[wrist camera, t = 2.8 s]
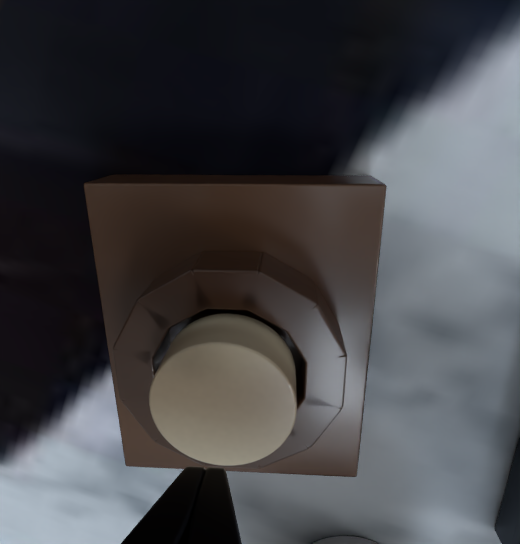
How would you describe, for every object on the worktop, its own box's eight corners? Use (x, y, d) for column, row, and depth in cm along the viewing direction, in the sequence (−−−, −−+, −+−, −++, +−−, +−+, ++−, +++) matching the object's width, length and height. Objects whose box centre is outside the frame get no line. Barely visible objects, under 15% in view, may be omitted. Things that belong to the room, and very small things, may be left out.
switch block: (348, 436, 17) (365, 521, 14) (143, 427, 18) (105, 507, 14) (372, 175, 14) (404, 194, 10) (111, 174, 14) (49, 192, 10)
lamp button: (293, 426, 13) (295, 469, 11) (171, 421, 13) (154, 463, 12) (297, 314, 12) (299, 345, 10) (160, 310, 12) (140, 340, 10)
